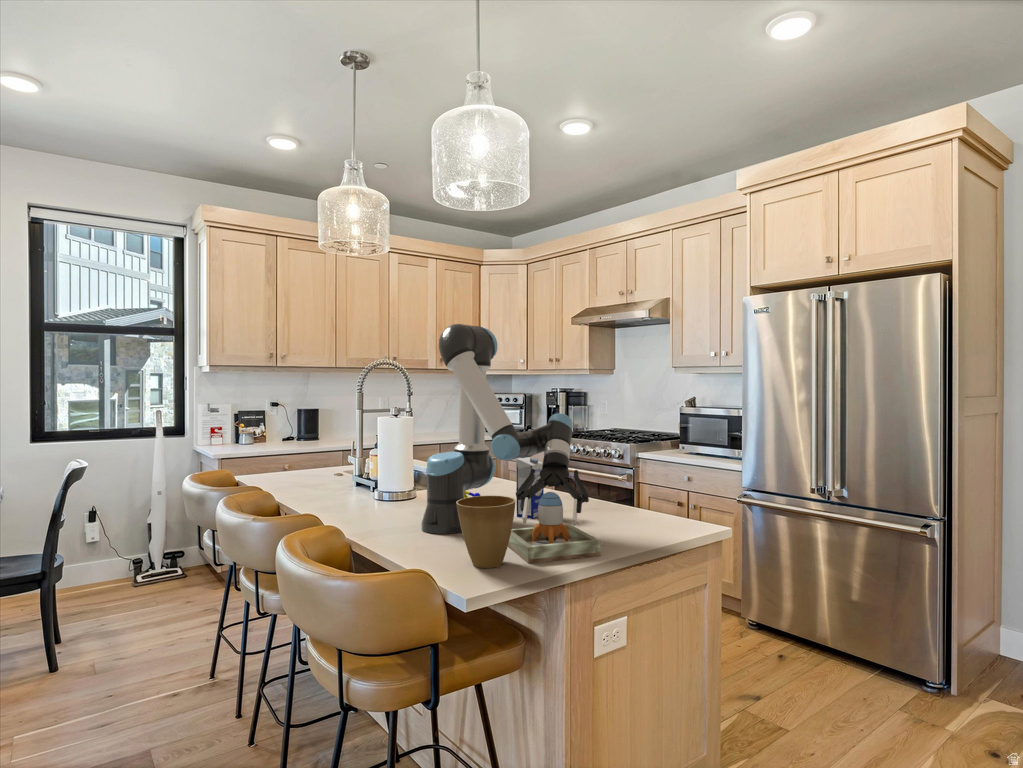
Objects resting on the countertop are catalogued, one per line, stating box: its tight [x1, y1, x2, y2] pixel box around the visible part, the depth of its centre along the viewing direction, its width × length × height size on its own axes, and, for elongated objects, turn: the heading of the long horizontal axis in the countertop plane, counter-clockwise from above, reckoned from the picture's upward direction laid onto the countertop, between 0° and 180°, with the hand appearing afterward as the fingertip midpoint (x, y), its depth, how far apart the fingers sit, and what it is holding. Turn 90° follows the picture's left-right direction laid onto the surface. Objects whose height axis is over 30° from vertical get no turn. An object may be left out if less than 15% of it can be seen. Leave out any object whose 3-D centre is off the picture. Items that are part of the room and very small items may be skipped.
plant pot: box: [456, 495, 517, 569], centre depth 152 cm, size 15×15×16 cm
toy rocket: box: [532, 491, 569, 544], centre depth 164 cm, size 10×11×15 cm
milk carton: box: [515, 457, 545, 520], centre depth 207 cm, size 7×7×20 cm
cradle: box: [507, 523, 601, 564], centre depth 164 cm, size 20×20×4 cm
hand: (549, 521), depth 162 cm, fingers open, 13 cm apart
